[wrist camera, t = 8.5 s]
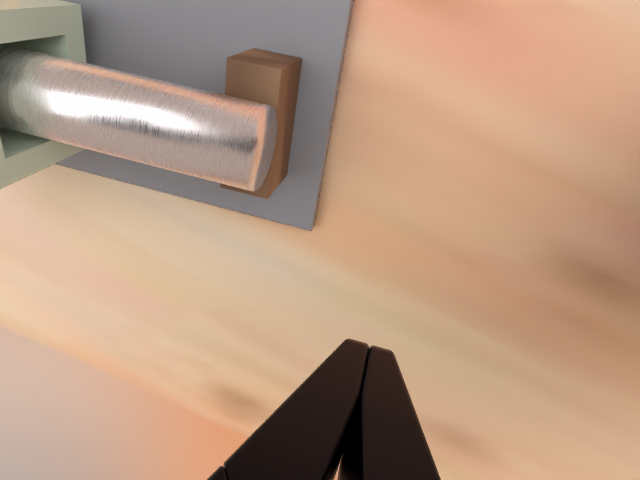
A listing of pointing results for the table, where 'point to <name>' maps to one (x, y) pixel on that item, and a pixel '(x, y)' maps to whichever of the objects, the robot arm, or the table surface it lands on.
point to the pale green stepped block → (50, 38)
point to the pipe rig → (193, 98)
